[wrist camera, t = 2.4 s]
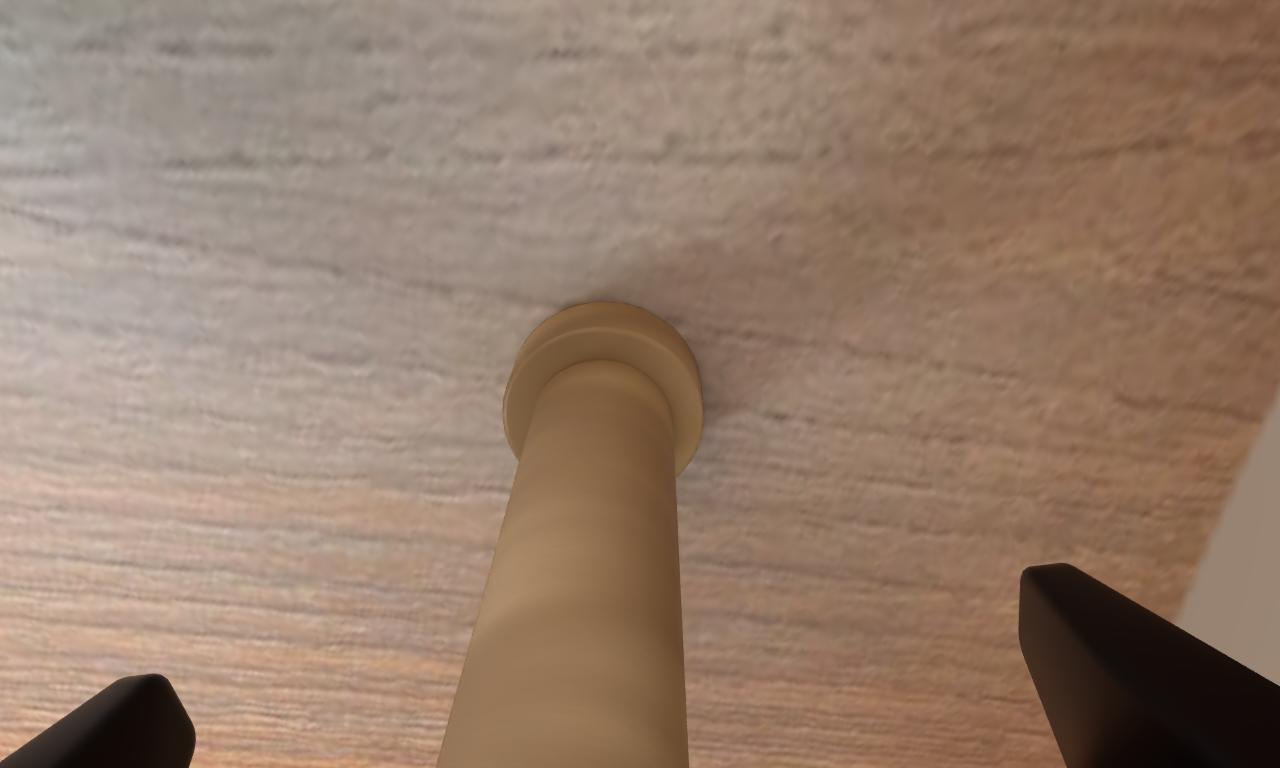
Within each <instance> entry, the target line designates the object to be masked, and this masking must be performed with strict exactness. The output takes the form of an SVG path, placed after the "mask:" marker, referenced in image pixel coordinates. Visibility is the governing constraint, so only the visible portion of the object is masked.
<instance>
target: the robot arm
mask: <svg viewBox="0 0 1280 768" xmlns="http://www.w3.org/2000/svg"><path fill="white" fill-rule="evenodd" d="M1018 629H1019V640H1020V645H1021V649H1022V653H1023V656H1024V659H1025V661H1026V664H1027V666H1028V669H1029V671H1030V674H1031V677H1032V679H1033V682H1034V684H1035V687H1036V689H1037V692H1038V695H1039V697H1040V700H1041V702H1042V705H1043V707H1044V710H1045V712H1046V715H1047V718H1048V720H1049V723H1050V725H1051V728H1052V730H1053V733H1054V736H1055V738H1056V741H1057V743H1058V746H1059V748H1060V751H1061V754H1062V756H1063V759H1064V761H1065V764H1066V766H1067V768H1280V686H1278V685H1276V684H1275V683H1273V682H1271V681H1269V680H1268V679H1266V678H1264V677H1263V676H1261V675H1259V674H1258V673H1255V672H1254V671H1252V670H1251V669H1249V668H1247V667H1246V666H1244V665H1242V664H1240V663H1239V662H1237V661H1235V660H1233V659H1232V658H1230V657H1228V656H1227V655H1225V654H1223V653H1221V652H1220V651H1218V650H1216V649H1215V648H1213V647H1211V646H1209V645H1208V644H1206V643H1204V642H1203V641H1201V640H1199V639H1198V638H1195V637H1194V636H1192V635H1191V634H1189V633H1187V632H1186V631H1184V630H1182V629H1180V628H1179V627H1177V626H1175V625H1174V624H1172V623H1170V622H1168V621H1167V620H1165V619H1163V618H1162V617H1160V616H1158V615H1156V614H1155V613H1153V612H1151V611H1150V610H1148V609H1146V608H1144V607H1143V606H1141V605H1139V604H1138V603H1136V602H1134V601H1132V600H1131V599H1129V598H1127V597H1126V596H1124V595H1122V594H1120V593H1119V592H1117V591H1115V590H1114V589H1112V588H1110V587H1108V586H1107V585H1105V584H1103V583H1102V582H1100V581H1098V580H1096V579H1095V578H1093V577H1091V576H1090V575H1088V574H1086V573H1084V572H1083V571H1081V570H1079V569H1078V568H1076V567H1074V566H1072V565H1070V564H1066V563H1055V564H1047V565H1039V566H1031V567H1028V568H1026V569H1025V570H1024V571H1023V573H1022V575H1021V579H1020V601H1019V628H1018ZM195 742H196V734H195V729H194V726H193V723H192V721H191V719H190V718H189V716H188V714H187V712H186V710H185V709H184V707H183V705H182V703H181V701H180V700H179V698H178V696H177V694H176V692H175V691H174V689H173V687H172V685H171V683H170V682H169V680H168V679H167V678H165V677H164V676H162V675H160V674H146V675H137V676H129V677H125V678H122V679H119V680H117V681H116V682H114V683H113V684H111V685H110V686H108V687H107V688H105V689H104V690H102V691H101V692H100V693H98V694H97V695H95V696H94V697H92V698H91V699H90V700H88V701H87V702H85V703H84V704H82V705H81V706H80V707H78V708H77V709H75V710H74V711H72V712H71V713H70V714H68V715H67V716H65V717H64V718H62V719H61V720H60V721H58V722H57V723H55V724H54V725H52V726H51V727H50V728H48V729H47V730H45V731H44V732H42V733H41V734H40V735H38V736H37V737H35V738H34V739H32V740H31V741H30V742H28V743H27V744H25V745H24V746H22V747H21V748H20V749H18V750H17V751H15V752H14V753H12V754H11V755H10V756H8V757H7V758H5V759H4V760H2V761H1V762H0V768H189V766H190V762H191V759H192V756H193V753H194V749H195Z"/></svg>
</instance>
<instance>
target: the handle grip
mask: <svg viewBox="0 0 1280 768" xmlns="http://www.w3.org/2000/svg"><path fill="white" fill-rule="evenodd" d="M503 424H504V429H505V434H506V437H507V439H508V442H509V445H510V447H511V449H512V451H513V453H514V455H515V456H516V458H517V459H518V460H519V465H518V469H517V472H516V476H515V480H514V483H513V487H512V491H511V494H510V498H509V502H508V505H507V509H506V513H505V516H504V520H503V524H502V527H501V531H500V535H499V538H498V542H497V545H496V549H495V553H494V556H493V560H492V564H491V567H490V571H489V575H488V578H487V582H486V586H485V589H484V593H483V597H482V600H481V604H480V608H479V611H478V615H477V619H476V622H475V626H474V629H473V633H472V637H471V640H470V644H469V648H468V651H467V655H466V659H465V662H464V666H463V670H462V673H461V677H460V681H459V684H458V688H457V692H456V695H455V699H454V703H453V706H452V710H451V713H450V717H449V721H448V724H447V728H446V732H445V735H444V739H443V743H442V746H441V750H440V754H439V757H438V761H437V765H436V768H689V756H688V735H687V714H686V693H685V672H684V650H683V629H682V608H681V587H680V565H679V544H678V523H677V502H676V480H675V478H676V477H677V476H678V475H679V474H680V473H681V472H682V471H683V470H684V469H685V468H686V466H687V465H688V464H689V462H690V461H691V459H692V458H693V456H694V454H695V452H696V450H697V448H698V445H699V443H700V440H701V436H702V432H703V425H704V408H703V399H702V390H701V382H700V375H699V371H698V366H697V364H696V361H695V358H694V356H693V354H692V352H691V350H690V348H689V347H688V345H687V344H686V342H685V341H684V340H683V338H682V337H681V336H680V335H679V334H678V333H677V332H676V331H675V330H674V329H673V328H672V327H671V326H670V325H669V324H668V323H666V322H665V321H664V320H662V319H661V318H659V317H657V316H656V315H654V314H652V313H650V312H648V311H646V310H643V309H641V308H638V307H635V306H631V305H628V304H622V303H616V302H594V303H586V304H581V305H577V306H574V307H571V308H568V309H565V310H563V311H561V312H559V313H557V314H555V315H553V316H552V317H550V318H549V319H547V320H546V321H544V322H543V323H542V324H541V325H540V326H539V327H537V328H536V329H535V330H534V331H533V333H532V334H531V335H530V336H529V337H528V339H527V340H526V341H525V343H524V345H523V346H522V348H521V350H520V352H519V354H518V357H517V359H516V362H515V365H514V368H513V370H512V373H511V376H510V379H509V382H508V384H507V387H506V391H505V395H504V400H503Z"/></svg>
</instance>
